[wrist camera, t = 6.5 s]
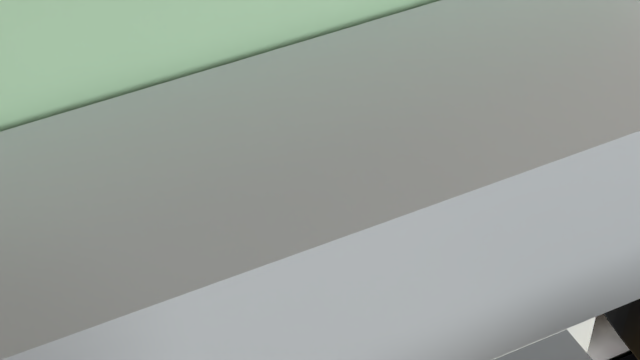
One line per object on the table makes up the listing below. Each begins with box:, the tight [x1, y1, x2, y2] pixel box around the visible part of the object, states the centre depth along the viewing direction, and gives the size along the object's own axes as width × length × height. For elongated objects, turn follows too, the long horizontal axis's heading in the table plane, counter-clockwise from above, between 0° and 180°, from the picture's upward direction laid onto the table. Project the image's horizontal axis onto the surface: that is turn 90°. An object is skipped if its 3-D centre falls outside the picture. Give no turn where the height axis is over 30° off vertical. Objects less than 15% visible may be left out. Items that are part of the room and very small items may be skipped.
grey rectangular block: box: [0, 0, 640, 360], centre depth 8 cm, size 12×3×4 cm, turn 99°
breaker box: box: [0, 0, 596, 360], centre depth 15 cm, size 16×22×6 cm
